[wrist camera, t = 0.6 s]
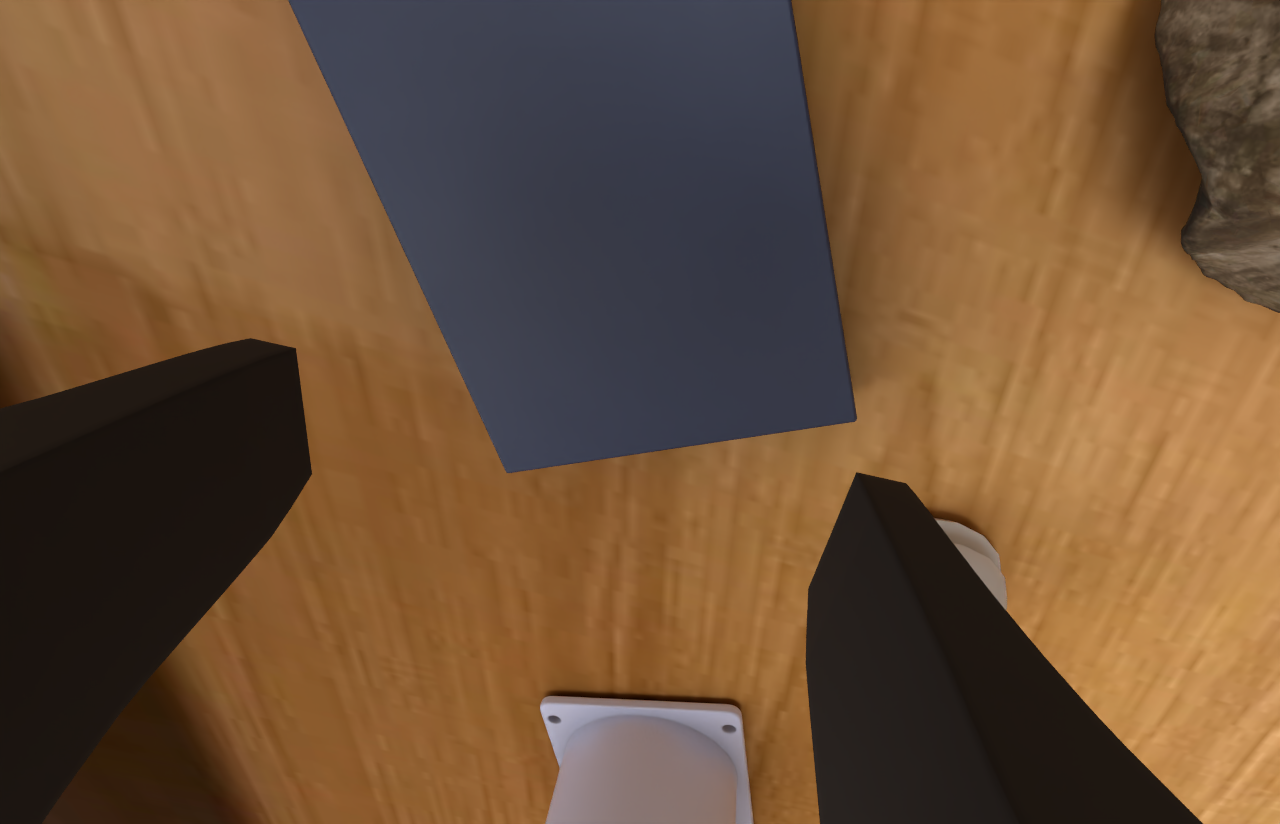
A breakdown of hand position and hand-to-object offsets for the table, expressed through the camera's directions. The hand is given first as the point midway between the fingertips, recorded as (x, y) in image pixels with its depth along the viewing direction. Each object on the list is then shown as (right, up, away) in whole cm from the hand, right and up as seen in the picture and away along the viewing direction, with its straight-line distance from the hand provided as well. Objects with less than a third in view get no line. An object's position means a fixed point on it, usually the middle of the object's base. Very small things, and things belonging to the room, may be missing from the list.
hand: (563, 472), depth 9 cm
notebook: (0, +6, +8) cm, 10 cm away
